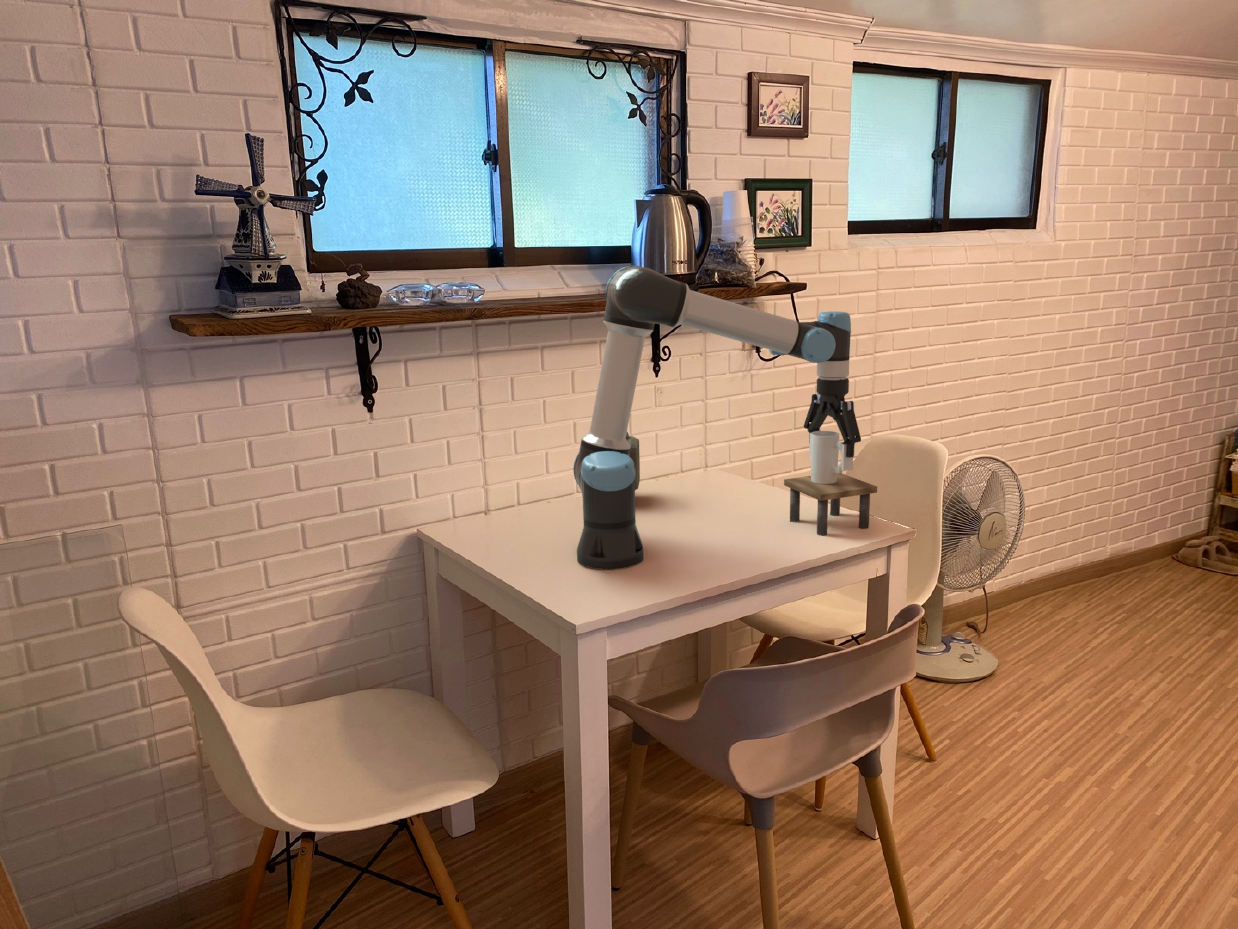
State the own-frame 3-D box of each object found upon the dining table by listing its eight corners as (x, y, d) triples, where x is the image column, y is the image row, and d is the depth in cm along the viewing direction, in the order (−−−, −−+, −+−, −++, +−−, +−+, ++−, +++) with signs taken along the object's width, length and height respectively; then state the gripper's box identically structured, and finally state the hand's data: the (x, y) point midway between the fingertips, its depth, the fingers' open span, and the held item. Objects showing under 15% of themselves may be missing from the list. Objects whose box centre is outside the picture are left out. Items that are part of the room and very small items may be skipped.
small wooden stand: (819, 537, 218) (820, 494, 216) (783, 519, 233) (784, 479, 230) (875, 528, 224) (877, 486, 221) (836, 511, 238) (838, 472, 236)
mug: (804, 480, 228) (805, 433, 226) (823, 476, 232) (824, 429, 229) (834, 489, 220) (835, 439, 217) (853, 484, 224) (855, 436, 221)
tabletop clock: (608, 494, 260) (605, 407, 254) (640, 494, 259) (638, 406, 253) (603, 509, 246) (600, 417, 240) (637, 509, 245) (635, 416, 239)
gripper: (878, 382, 210) (875, 473, 215) (816, 370, 232) (814, 452, 237) (851, 385, 207) (848, 477, 212) (790, 372, 230) (789, 455, 235)
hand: (830, 464), depth 225 cm, fingers open, 13 cm apart
